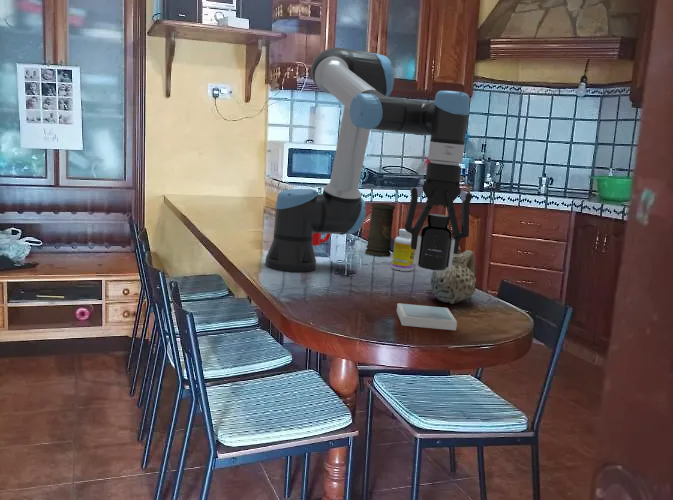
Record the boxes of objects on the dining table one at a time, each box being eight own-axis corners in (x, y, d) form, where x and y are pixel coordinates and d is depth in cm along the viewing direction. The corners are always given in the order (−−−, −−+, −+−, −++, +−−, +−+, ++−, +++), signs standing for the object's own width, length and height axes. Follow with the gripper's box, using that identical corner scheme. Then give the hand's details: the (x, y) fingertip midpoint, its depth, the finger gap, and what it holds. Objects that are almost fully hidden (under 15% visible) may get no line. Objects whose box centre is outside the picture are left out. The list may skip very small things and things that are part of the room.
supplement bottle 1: (411, 272, 206) (415, 232, 204) (390, 269, 208) (394, 229, 205) (412, 269, 213) (417, 230, 211) (392, 266, 214) (397, 227, 212)
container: (361, 254, 232) (367, 203, 229) (370, 251, 240) (375, 202, 238) (385, 257, 229) (391, 206, 226) (393, 254, 237) (399, 205, 234)
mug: (333, 245, 244) (335, 225, 243) (304, 245, 239) (306, 223, 238) (324, 242, 251) (326, 221, 250) (296, 241, 246) (297, 220, 245)
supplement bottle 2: (428, 271, 143) (434, 216, 141) (410, 264, 149) (417, 212, 147) (453, 270, 146) (460, 217, 145) (435, 264, 152) (441, 213, 150)
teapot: (456, 313, 160) (464, 252, 158) (413, 303, 166) (421, 244, 163) (486, 299, 178) (493, 245, 176) (446, 291, 184) (453, 238, 181)
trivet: (401, 325, 144) (403, 315, 144) (396, 311, 156) (397, 302, 155) (456, 330, 144) (457, 320, 144) (446, 316, 156) (447, 306, 156)
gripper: (401, 159, 140) (390, 264, 144) (493, 168, 141) (479, 272, 144) (398, 158, 148) (387, 258, 151) (485, 167, 148) (472, 266, 152)
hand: (432, 265), depth 148 cm, fingers closed on supplement bottle 2, 7 cm apart
